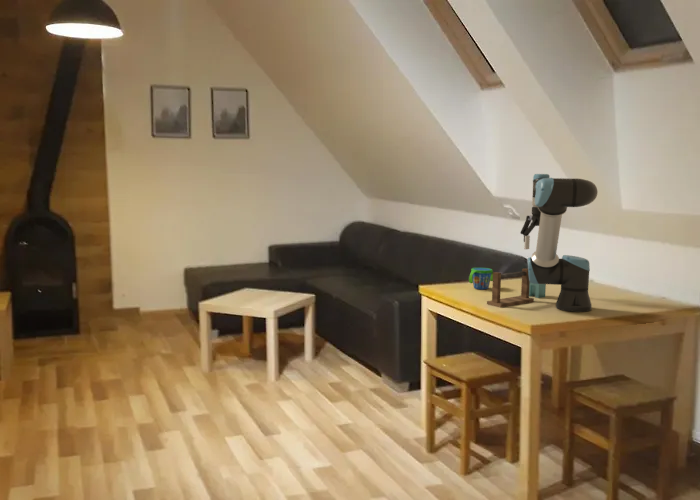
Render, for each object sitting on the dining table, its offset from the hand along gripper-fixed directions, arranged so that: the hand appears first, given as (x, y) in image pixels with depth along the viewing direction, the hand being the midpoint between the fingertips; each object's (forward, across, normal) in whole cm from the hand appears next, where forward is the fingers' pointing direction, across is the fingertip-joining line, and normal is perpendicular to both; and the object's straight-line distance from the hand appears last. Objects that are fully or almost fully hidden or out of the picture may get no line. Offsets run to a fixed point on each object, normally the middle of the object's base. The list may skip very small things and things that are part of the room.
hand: (538, 250), depth 348 cm
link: (+22, 0, 0) cm, 22 cm away
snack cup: (+22, -29, -7) cm, 37 cm away
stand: (+22, +4, -23) cm, 32 cm away
